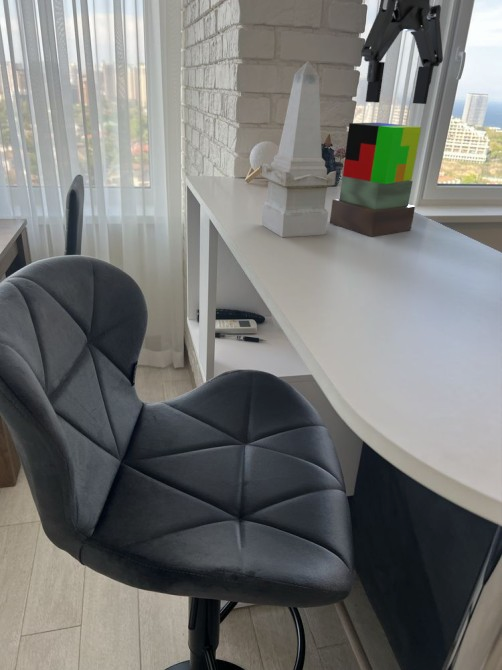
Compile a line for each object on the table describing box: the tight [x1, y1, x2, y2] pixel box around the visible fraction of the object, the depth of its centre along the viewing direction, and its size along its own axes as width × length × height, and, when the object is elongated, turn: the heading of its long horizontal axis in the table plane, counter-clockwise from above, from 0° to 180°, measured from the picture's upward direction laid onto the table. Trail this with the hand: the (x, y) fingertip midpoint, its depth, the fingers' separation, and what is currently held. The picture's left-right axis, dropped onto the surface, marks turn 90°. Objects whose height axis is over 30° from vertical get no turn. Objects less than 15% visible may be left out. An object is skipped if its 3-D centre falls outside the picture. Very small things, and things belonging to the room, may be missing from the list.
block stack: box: [329, 175, 416, 238], centre depth 105 cm, size 12×12×10 cm
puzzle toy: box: [342, 122, 422, 184], centre depth 101 cm, size 10×10×10 cm
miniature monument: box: [261, 60, 337, 238], centre depth 95 cm, size 10×10×30 cm
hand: (396, 103), depth 97 cm, fingers open, 13 cm apart
